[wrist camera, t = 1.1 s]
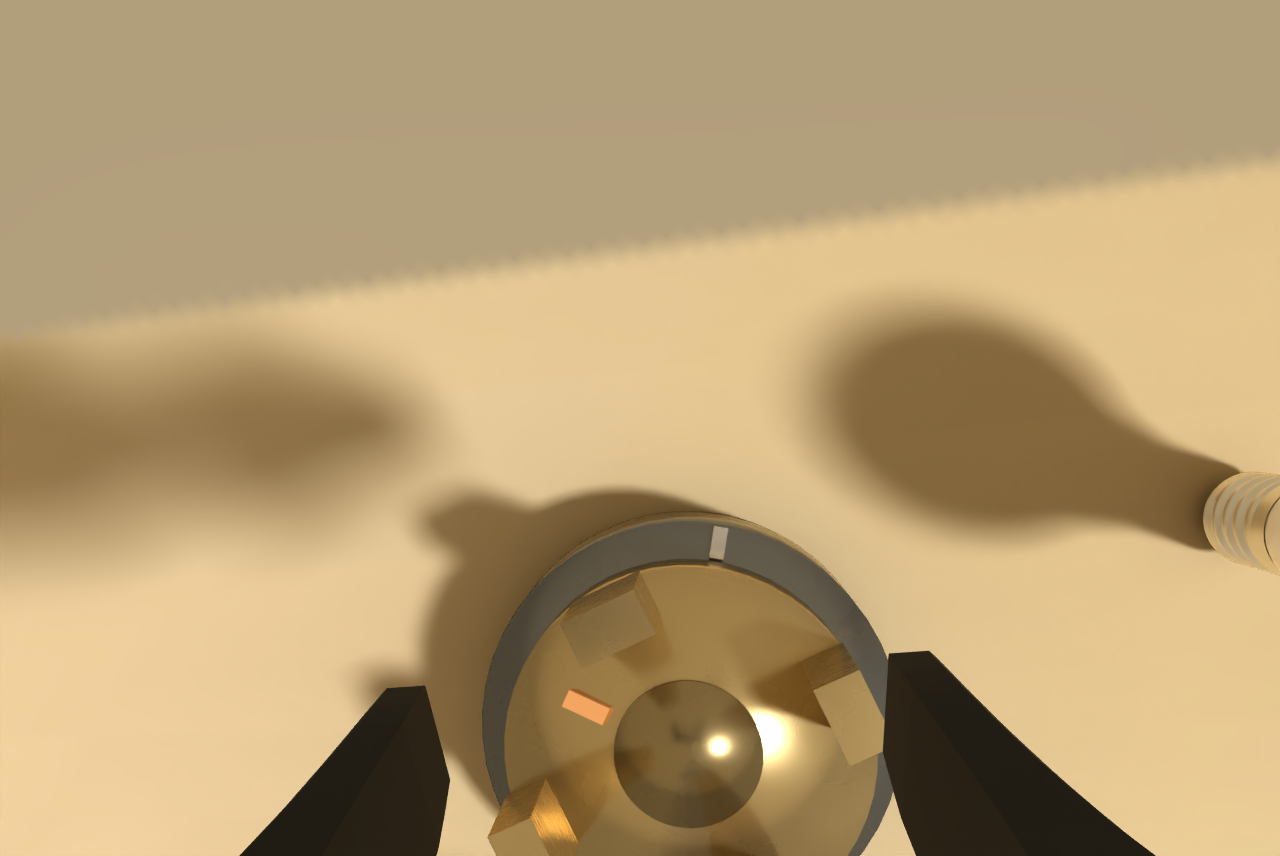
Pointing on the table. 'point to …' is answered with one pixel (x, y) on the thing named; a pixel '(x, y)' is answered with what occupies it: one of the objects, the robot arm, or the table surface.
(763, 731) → the brass lugged disc
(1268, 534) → the lightbulb
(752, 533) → the cap base
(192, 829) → the table surface
